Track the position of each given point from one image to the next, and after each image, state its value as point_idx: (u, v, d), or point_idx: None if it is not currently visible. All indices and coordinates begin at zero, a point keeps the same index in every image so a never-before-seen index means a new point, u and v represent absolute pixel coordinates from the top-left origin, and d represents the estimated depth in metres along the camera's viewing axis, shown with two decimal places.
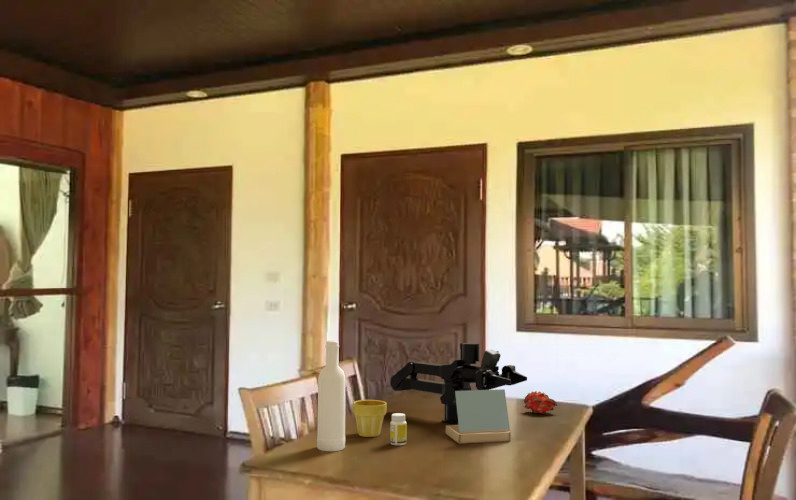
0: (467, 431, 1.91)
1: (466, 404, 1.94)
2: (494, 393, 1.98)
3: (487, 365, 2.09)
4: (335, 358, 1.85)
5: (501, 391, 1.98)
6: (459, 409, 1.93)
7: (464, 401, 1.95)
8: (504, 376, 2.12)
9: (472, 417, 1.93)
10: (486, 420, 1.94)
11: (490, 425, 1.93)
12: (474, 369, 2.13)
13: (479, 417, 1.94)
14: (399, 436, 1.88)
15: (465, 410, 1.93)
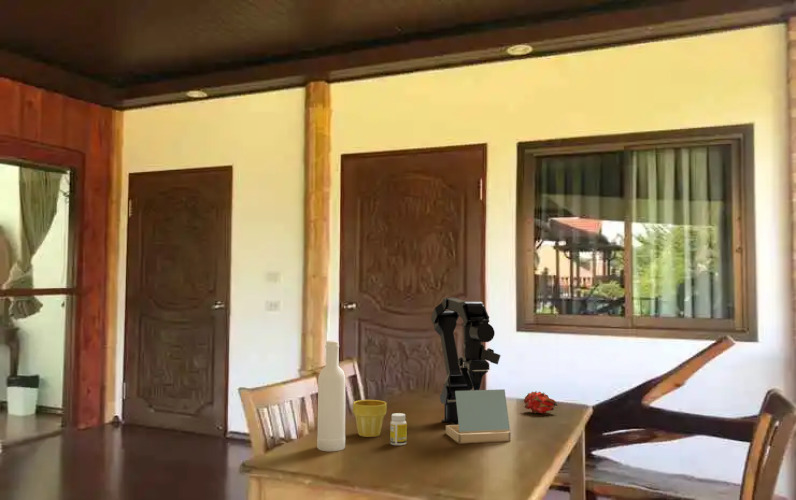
0: (467, 431, 1.91)
1: (466, 404, 1.94)
2: (494, 393, 1.98)
3: (486, 358, 2.05)
4: (335, 358, 1.85)
5: (501, 391, 1.98)
6: (459, 409, 1.93)
7: (464, 401, 1.95)
8: None
9: (472, 417, 1.93)
10: (486, 420, 1.94)
11: (490, 425, 1.93)
12: (480, 341, 2.05)
13: (479, 417, 1.94)
14: (399, 436, 1.88)
15: (465, 410, 1.93)
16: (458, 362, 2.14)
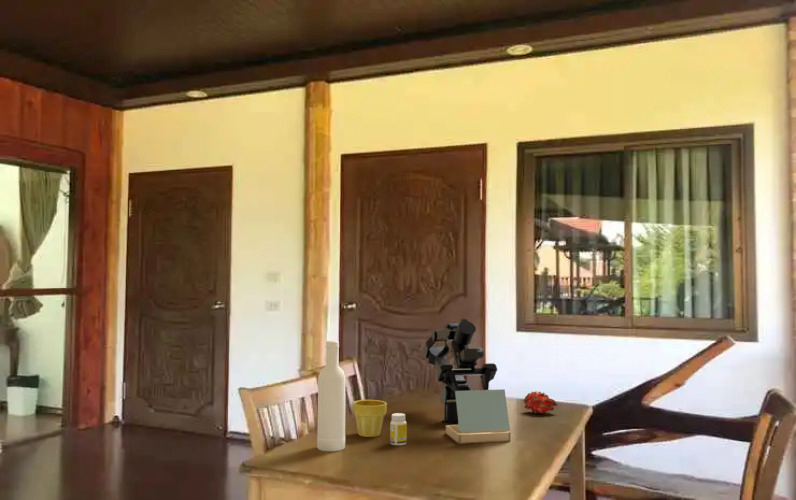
0: (467, 431, 1.91)
1: (466, 404, 1.94)
2: (494, 393, 1.98)
3: (461, 360, 2.07)
4: (335, 358, 1.85)
5: (501, 391, 1.98)
6: (459, 409, 1.93)
7: (464, 401, 1.95)
8: (478, 373, 2.09)
9: (472, 417, 1.93)
10: (486, 420, 1.94)
11: (490, 425, 1.93)
12: (457, 350, 2.12)
13: (479, 417, 1.94)
14: (399, 436, 1.88)
15: (465, 410, 1.93)
16: None
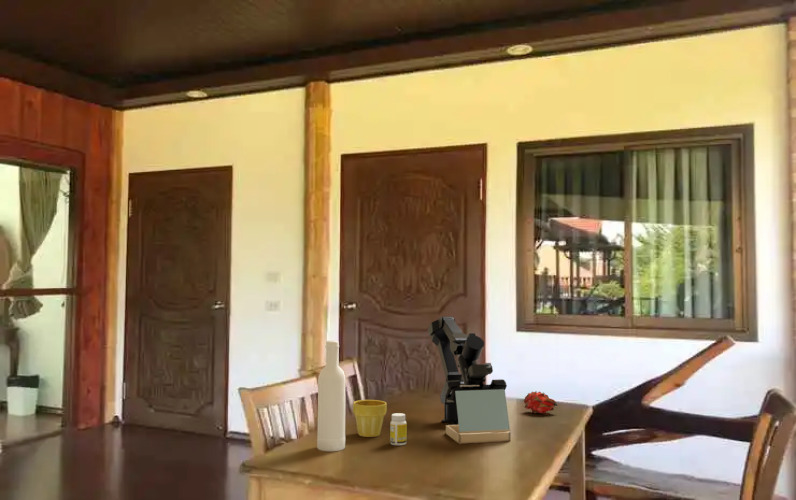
0: (467, 431, 1.91)
1: (466, 404, 1.94)
2: (495, 393, 1.97)
3: (469, 376, 2.00)
4: (335, 358, 1.85)
5: (501, 391, 1.98)
6: (459, 409, 1.93)
7: (464, 401, 1.94)
8: None
9: (472, 417, 1.93)
10: (486, 420, 1.94)
11: (490, 425, 1.93)
12: (465, 366, 2.05)
13: (479, 417, 1.94)
14: (399, 436, 1.88)
15: (465, 410, 1.93)
16: None
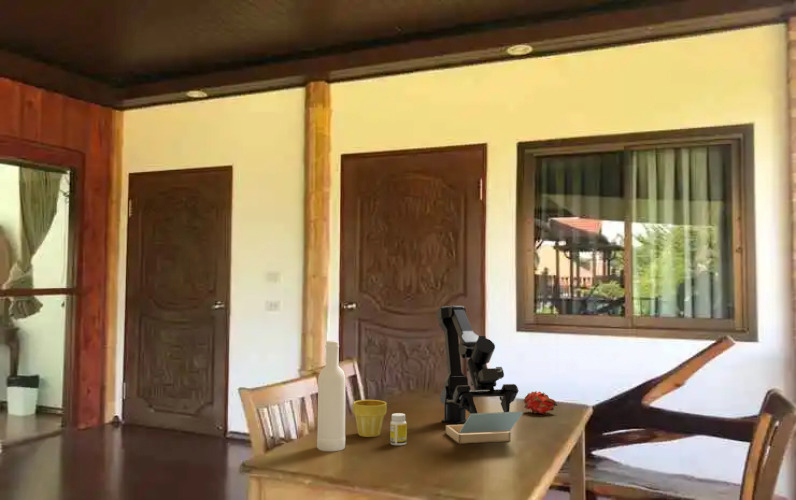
0: (467, 432, 1.91)
1: (477, 421, 1.85)
2: (511, 414, 1.85)
3: (479, 381, 1.91)
4: (335, 358, 1.85)
5: (518, 413, 1.85)
6: (467, 423, 1.86)
7: (476, 419, 1.85)
8: (497, 395, 1.93)
9: (477, 426, 1.89)
10: (490, 427, 1.90)
11: (492, 429, 1.92)
12: (474, 370, 1.96)
13: (484, 426, 1.89)
14: (399, 436, 1.88)
15: (473, 423, 1.87)
16: None
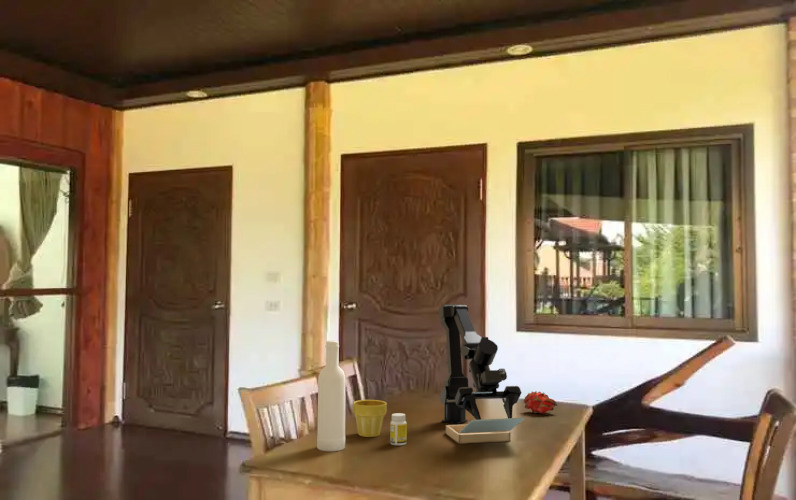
0: (467, 432, 1.91)
1: (477, 425, 1.85)
2: (512, 420, 1.84)
3: (482, 383, 1.89)
4: (335, 358, 1.85)
5: (520, 419, 1.84)
6: (468, 426, 1.85)
7: (476, 424, 1.84)
8: (500, 397, 1.91)
9: (478, 428, 1.88)
10: (490, 428, 1.90)
11: (492, 430, 1.92)
12: (477, 371, 1.94)
13: (485, 428, 1.89)
14: (399, 436, 1.88)
15: (473, 426, 1.86)
16: None
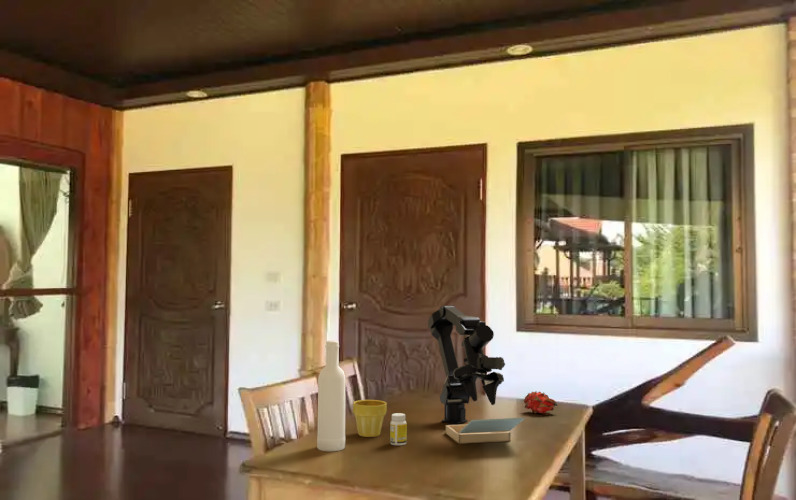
0: (467, 432, 1.91)
1: (477, 425, 1.85)
2: (512, 420, 1.84)
3: (483, 365, 2.00)
4: (335, 358, 1.85)
5: (520, 419, 1.84)
6: (468, 426, 1.85)
7: (476, 424, 1.84)
8: (486, 379, 2.05)
9: (478, 428, 1.88)
10: (490, 428, 1.90)
11: (492, 430, 1.92)
12: (475, 351, 2.03)
13: (485, 428, 1.89)
14: (399, 436, 1.88)
15: (473, 426, 1.86)
16: None
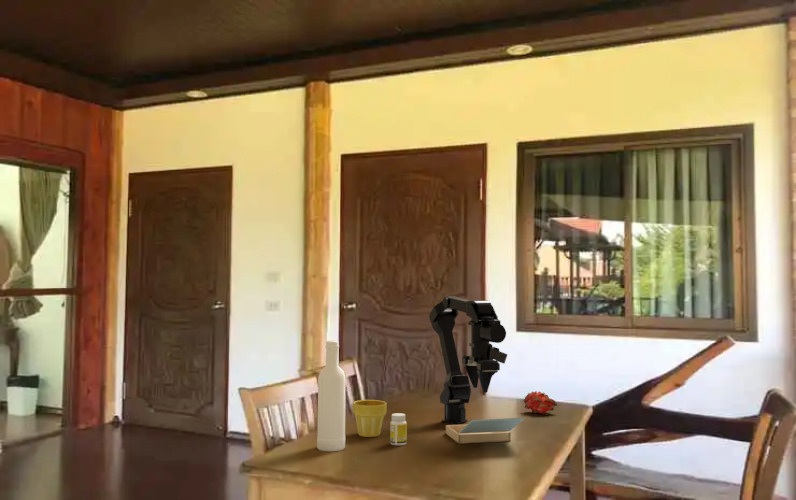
0: (467, 432, 1.91)
1: (477, 425, 1.85)
2: (512, 420, 1.84)
3: (494, 358, 2.06)
4: (335, 358, 1.85)
5: (520, 419, 1.84)
6: (468, 426, 1.85)
7: (476, 424, 1.84)
8: (476, 363, 2.10)
9: (478, 428, 1.88)
10: (490, 428, 1.90)
11: (492, 430, 1.92)
12: (488, 340, 2.06)
13: (485, 428, 1.89)
14: (399, 436, 1.88)
15: (473, 426, 1.86)
16: (462, 360, 2.14)
